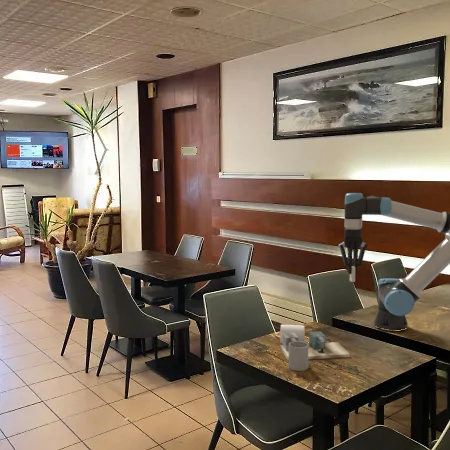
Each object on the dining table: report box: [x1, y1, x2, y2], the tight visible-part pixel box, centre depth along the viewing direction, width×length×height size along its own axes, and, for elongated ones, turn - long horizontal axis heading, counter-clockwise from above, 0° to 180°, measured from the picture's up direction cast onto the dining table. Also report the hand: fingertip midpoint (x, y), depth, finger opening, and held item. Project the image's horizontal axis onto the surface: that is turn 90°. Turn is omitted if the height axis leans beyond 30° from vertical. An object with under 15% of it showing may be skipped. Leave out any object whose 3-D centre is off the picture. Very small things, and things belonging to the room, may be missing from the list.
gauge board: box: [279, 333, 351, 361], centre depth 197 cm, size 25×14×6 cm, turn 96°
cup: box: [288, 341, 309, 372], centre depth 182 cm, size 7×10×9 cm
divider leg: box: [308, 331, 326, 351], centre depth 198 cm, size 5×10×5 cm, turn 6°
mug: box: [279, 324, 306, 345], centre depth 209 cm, size 12×10×8 cm
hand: (352, 281), depth 216 cm, fingers closed
